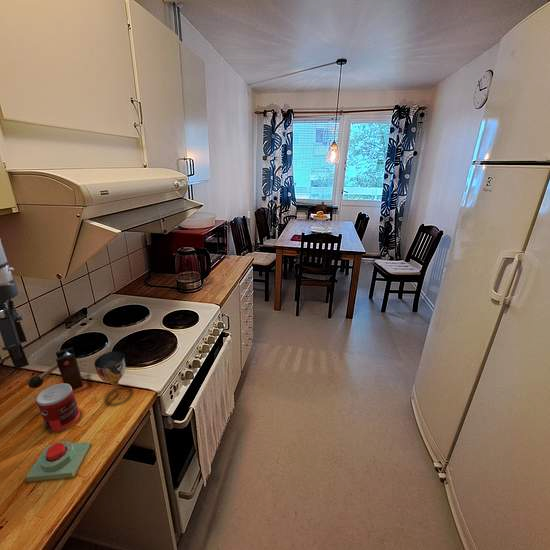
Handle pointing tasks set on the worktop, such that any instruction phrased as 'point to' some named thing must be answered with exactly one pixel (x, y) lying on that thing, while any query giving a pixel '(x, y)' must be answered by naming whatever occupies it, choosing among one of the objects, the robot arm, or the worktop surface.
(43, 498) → the worktop surface
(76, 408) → the canned food
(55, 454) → the button
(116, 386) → the wine glass
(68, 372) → the dark brown boxy piece
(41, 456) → the button box
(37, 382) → the lever
